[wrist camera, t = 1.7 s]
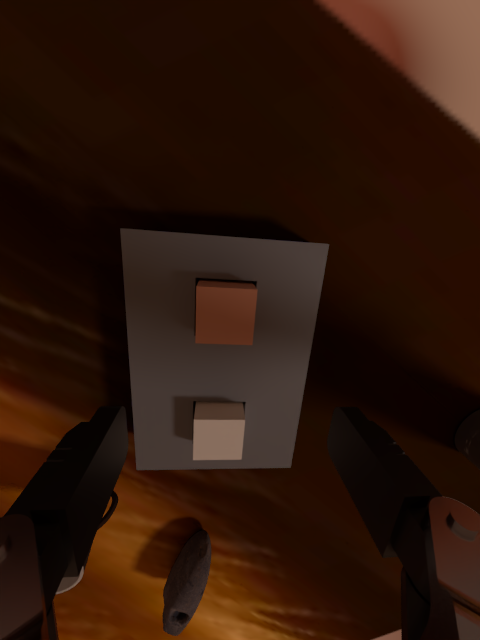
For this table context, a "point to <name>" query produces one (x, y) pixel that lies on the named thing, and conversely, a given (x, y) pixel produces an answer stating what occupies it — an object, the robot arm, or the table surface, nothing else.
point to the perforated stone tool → (186, 583)
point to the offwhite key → (218, 430)
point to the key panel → (217, 359)
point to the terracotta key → (225, 311)
